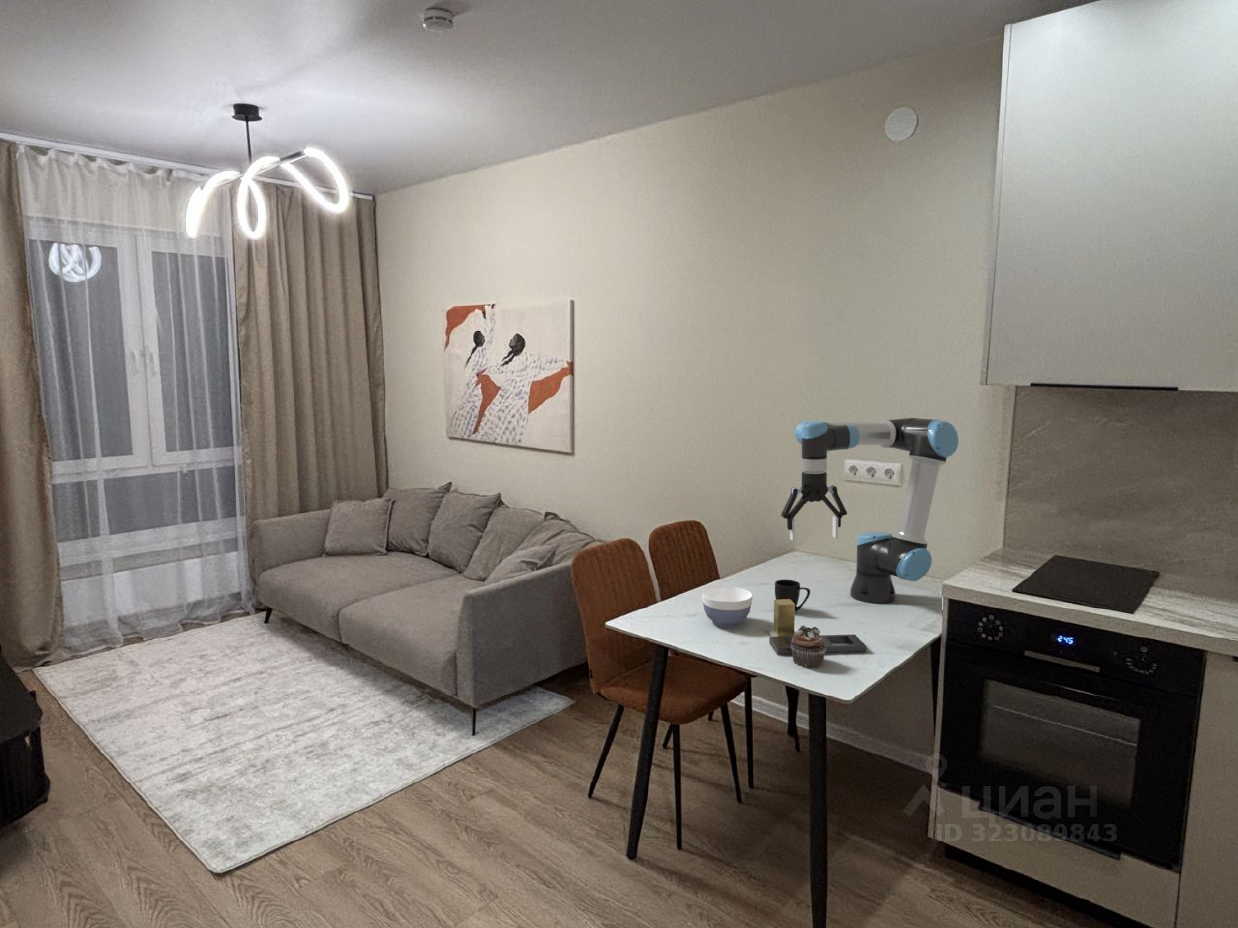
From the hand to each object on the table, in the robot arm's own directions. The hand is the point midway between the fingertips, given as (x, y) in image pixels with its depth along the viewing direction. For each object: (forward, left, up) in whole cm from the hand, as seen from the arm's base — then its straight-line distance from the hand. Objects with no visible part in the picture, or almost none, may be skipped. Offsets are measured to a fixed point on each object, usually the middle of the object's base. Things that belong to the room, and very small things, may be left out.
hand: (813, 538), depth 235 cm
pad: (+11, +8, -28) cm, 31 cm away
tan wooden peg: (+11, +8, -28) cm, 31 cm away
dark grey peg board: (+4, +18, -28) cm, 34 cm away
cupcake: (+10, +29, -29) cm, 42 cm away
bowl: (+26, -5, -28) cm, 39 cm away
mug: (+2, -14, -28) cm, 32 cm away
